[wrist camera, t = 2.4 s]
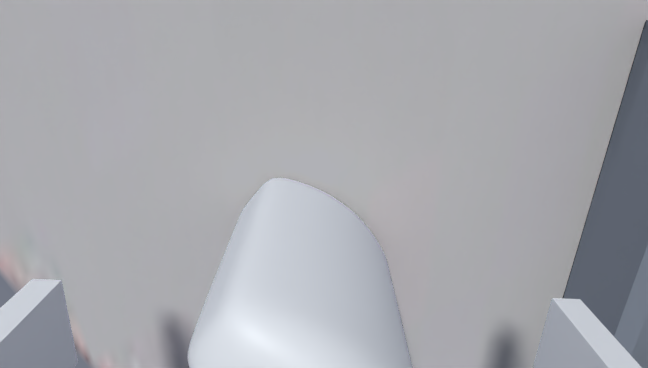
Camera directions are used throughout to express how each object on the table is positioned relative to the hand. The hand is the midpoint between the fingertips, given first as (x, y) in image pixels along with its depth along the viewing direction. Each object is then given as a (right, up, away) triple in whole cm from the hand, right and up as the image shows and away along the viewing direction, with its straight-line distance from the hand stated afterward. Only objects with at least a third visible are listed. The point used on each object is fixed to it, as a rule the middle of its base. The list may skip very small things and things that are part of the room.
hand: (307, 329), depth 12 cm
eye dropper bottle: (0, +2, +5) cm, 5 cm away
